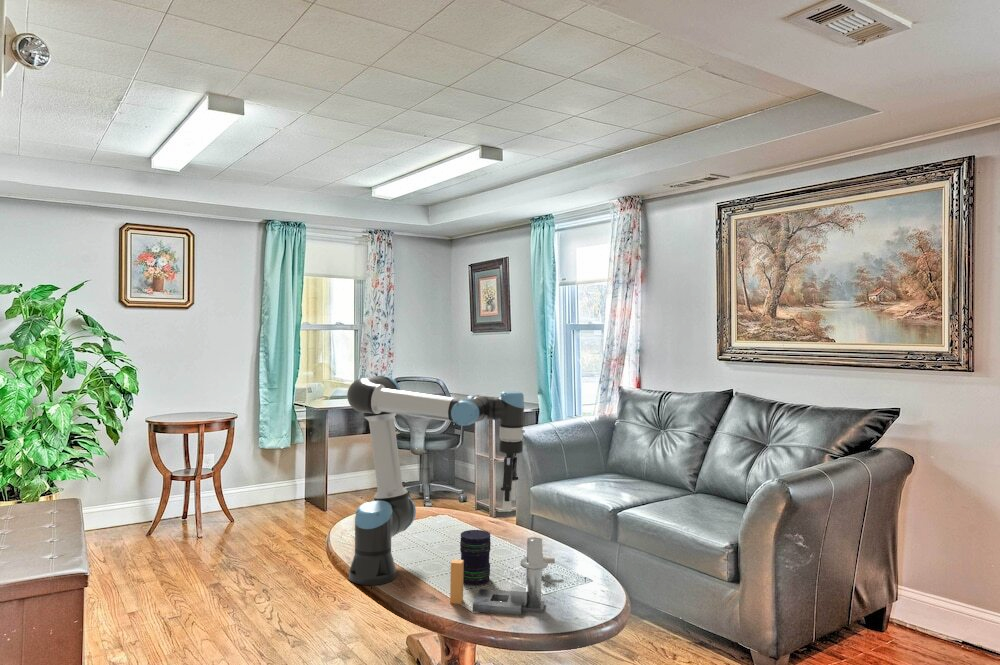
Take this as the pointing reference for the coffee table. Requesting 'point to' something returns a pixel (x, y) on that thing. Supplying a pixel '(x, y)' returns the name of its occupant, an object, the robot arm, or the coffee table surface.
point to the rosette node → (517, 597)
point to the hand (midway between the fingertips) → (509, 505)
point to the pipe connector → (547, 559)
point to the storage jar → (475, 557)
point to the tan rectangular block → (456, 581)
